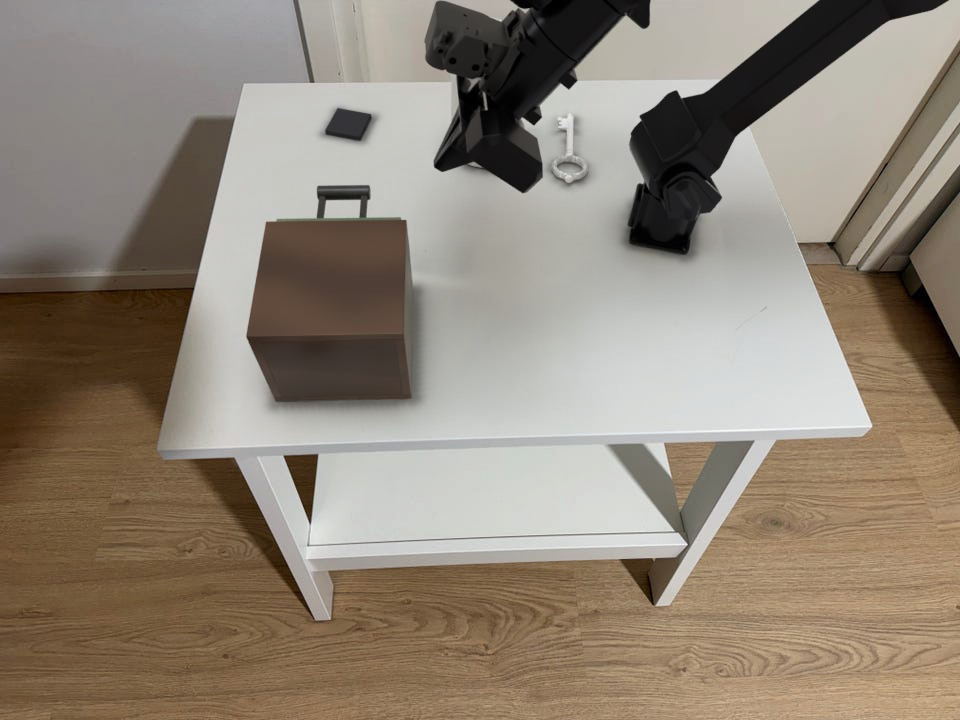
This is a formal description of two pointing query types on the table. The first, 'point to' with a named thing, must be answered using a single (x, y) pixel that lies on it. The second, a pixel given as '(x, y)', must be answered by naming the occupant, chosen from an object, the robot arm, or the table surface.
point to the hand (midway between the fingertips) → (437, 167)
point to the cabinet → (334, 310)
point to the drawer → (342, 194)
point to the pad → (348, 124)
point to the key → (569, 152)
